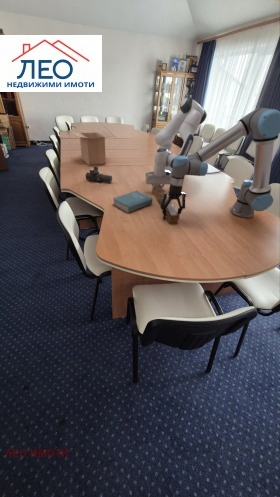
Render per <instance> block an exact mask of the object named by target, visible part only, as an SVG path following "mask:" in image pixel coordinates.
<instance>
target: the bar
mask: <svg viewBox="0 0 280 497" xmlns="http://www.w3.org/2000/svg"><path fill="white" fill-rule="evenodd" d="M153 187H155V189H151V190H152V192H153V194H154V197H155V198H156V199H157V201H158V204H159V206H161V203H162V200H163V197H164V193H166V192H165V190H164V187H163V188H162V184H154V185H153ZM168 197H169V195H168V196H167V197H166V201H167V200H168ZM166 201H165V203H166ZM164 205H165V204H164ZM161 210H162V211H163V209H161ZM166 210H167V211H166V217H165V218H166V219H167V222H168V224H170V225H178V222H179V219H180V215H179V214H178V213H177V211H178V210H177V209H176V207H175V206H174V205H173V203H172V201H170V203H169V205H168V206H167V208H166ZM178 218H179V219H178Z"/></svg>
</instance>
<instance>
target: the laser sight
mask: <svg viewBox="0 0 280 497" xmlns="http://www.w3.org/2000/svg"><path fill="white" fill-rule="evenodd" d="M85 179H86V180H87V181H90V182H91V181H92V182H99V183H110V184H111V183H112V181H113V175H108V174H104V173H100V171H99V167H97V166H93V170H92V169H89V172H88V171H87V172H86V173H85Z"/></svg>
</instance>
